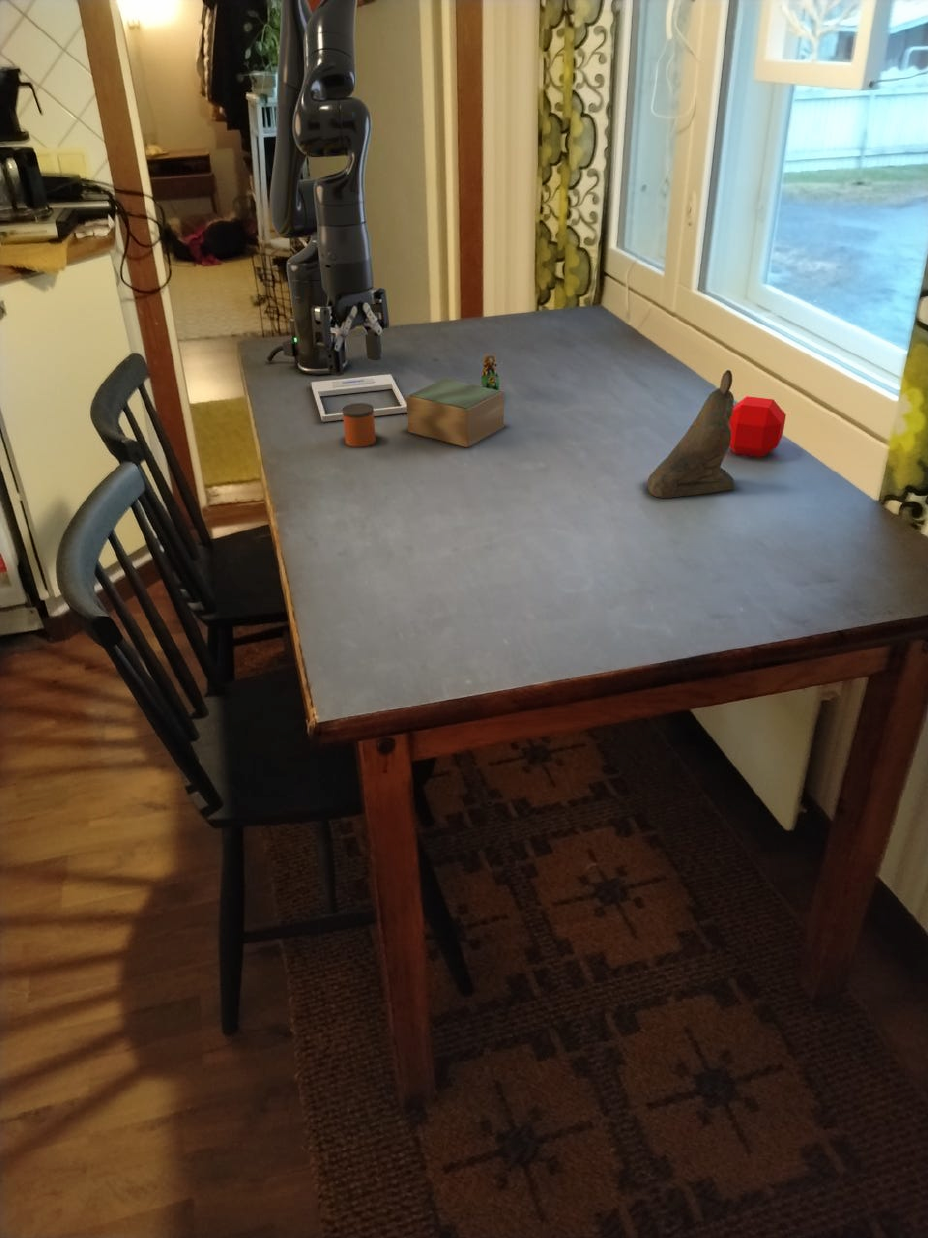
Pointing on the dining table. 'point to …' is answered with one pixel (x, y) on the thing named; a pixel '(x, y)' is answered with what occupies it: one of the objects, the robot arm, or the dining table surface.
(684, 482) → the brown carved statuette
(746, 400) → the ball
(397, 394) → the photo frame
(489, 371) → the figurine
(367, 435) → the orange tin
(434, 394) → the riser block
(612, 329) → the dining table surface
